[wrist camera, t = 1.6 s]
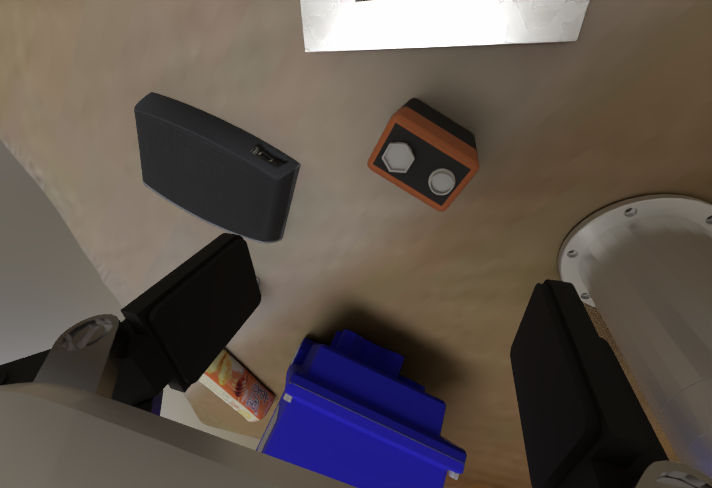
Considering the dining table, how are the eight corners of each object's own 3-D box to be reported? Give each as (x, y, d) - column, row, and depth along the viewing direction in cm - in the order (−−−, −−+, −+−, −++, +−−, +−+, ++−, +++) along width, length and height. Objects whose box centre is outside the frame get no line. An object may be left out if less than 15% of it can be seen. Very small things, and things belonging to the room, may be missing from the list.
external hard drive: (282, 242, 40) (266, 258, 37) (161, 181, 41) (135, 193, 38) (304, 157, 33) (287, 168, 29) (154, 84, 33) (120, 87, 30)
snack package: (280, 395, 65) (263, 426, 59) (261, 397, 68) (244, 427, 63) (211, 329, 58) (186, 358, 53) (195, 336, 62) (170, 363, 56)
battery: (412, 94, 26) (391, 113, 18) (477, 135, 26) (484, 171, 18) (388, 138, 28) (360, 171, 20) (447, 175, 29) (441, 221, 21)
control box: (323, 309, 31) (132, 708, 20) (536, 413, 33) (469, 842, 21) (309, 323, 55) (218, 510, 44) (432, 383, 56) (375, 579, 45)
